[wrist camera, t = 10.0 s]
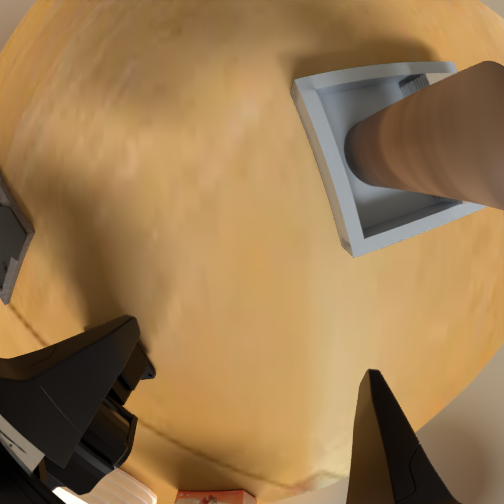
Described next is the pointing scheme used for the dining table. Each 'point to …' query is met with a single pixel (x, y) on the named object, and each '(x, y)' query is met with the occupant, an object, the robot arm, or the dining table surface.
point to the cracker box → (214, 497)
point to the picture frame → (11, 241)
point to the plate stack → (111, 491)
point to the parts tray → (335, 166)
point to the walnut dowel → (438, 139)
